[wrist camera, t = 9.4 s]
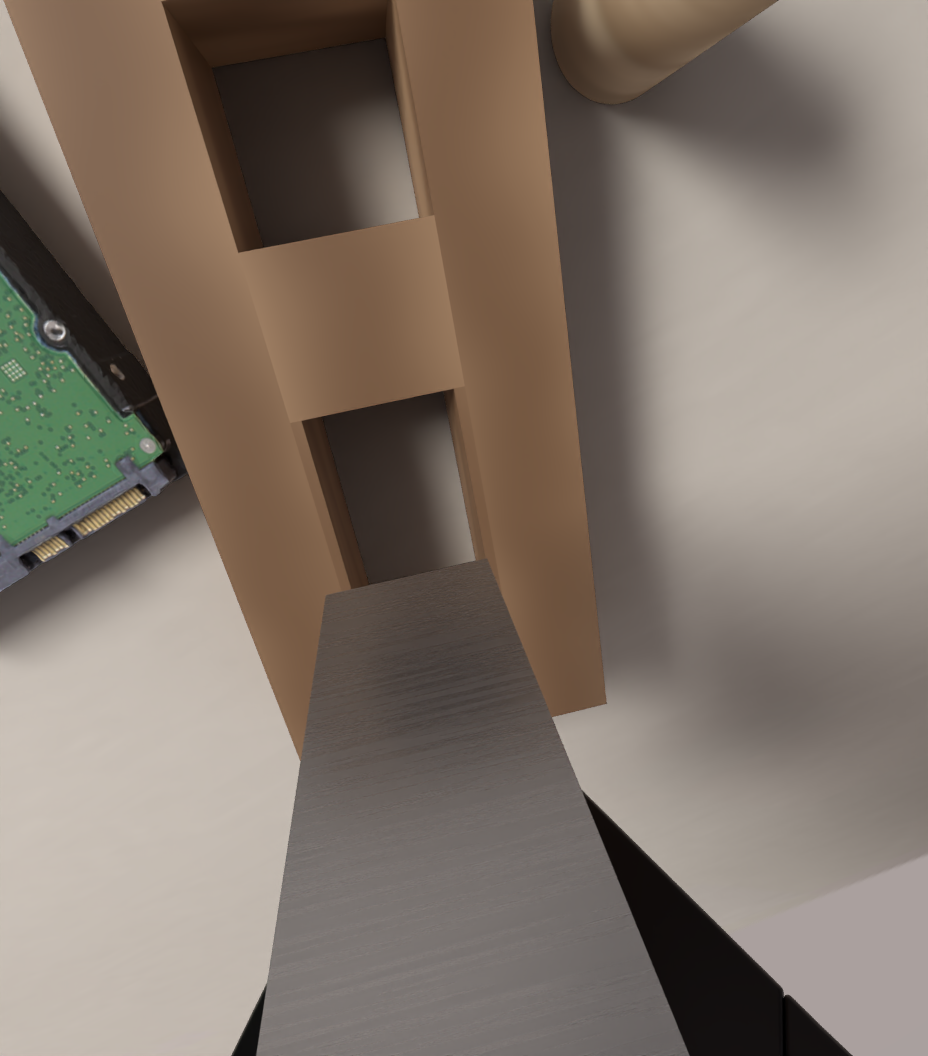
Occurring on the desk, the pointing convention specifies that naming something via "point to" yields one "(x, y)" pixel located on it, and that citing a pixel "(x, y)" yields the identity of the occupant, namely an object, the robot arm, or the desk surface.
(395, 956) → the tall grey rectangular prism
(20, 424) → the disk drive
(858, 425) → the desk surface
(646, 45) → the round dowel
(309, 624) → the socket board
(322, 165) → the desk surface
